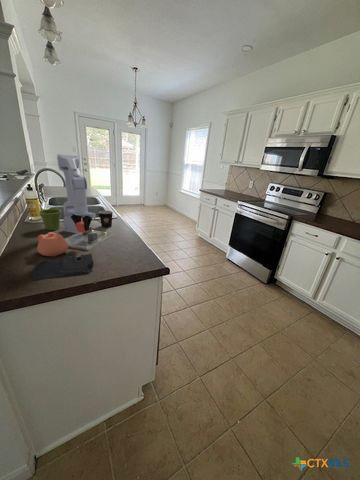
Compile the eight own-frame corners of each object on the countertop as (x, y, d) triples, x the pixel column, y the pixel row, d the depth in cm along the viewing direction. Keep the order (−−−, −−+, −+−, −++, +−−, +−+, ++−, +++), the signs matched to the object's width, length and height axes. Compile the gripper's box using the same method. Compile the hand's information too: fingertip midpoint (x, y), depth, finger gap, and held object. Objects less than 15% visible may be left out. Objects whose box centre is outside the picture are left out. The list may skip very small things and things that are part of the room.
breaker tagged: (88, 239, 109) (87, 233, 108) (92, 237, 113) (92, 231, 112) (93, 240, 109) (92, 234, 107) (97, 238, 112) (97, 232, 111)
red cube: (77, 231, 101) (76, 223, 99) (82, 229, 104) (81, 221, 103) (84, 232, 100) (83, 224, 98) (89, 230, 104) (88, 222, 102)
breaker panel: (57, 244, 104) (56, 241, 103) (87, 231, 126) (87, 228, 125) (87, 250, 101) (87, 246, 100) (113, 235, 123) (113, 232, 122)
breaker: (82, 233, 118) (82, 227, 116) (87, 231, 121) (86, 225, 120) (87, 234, 117) (86, 228, 116) (91, 232, 121) (91, 226, 119)
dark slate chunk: (37, 264, 86) (35, 254, 84) (93, 258, 95) (92, 249, 93) (29, 283, 73) (26, 271, 71) (94, 274, 82) (93, 264, 80)
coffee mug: (115, 225, 142) (114, 211, 138) (110, 228, 134) (109, 214, 130) (99, 223, 143) (98, 209, 139) (93, 227, 135) (92, 212, 131)
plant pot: (36, 229, 122) (33, 211, 118) (53, 225, 132) (50, 208, 128) (52, 233, 119) (49, 214, 115) (67, 227, 130) (65, 210, 126)
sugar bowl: (55, 260, 89) (52, 239, 86) (28, 255, 91) (24, 234, 88) (74, 249, 100) (72, 230, 97) (49, 245, 103) (46, 226, 99)
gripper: (61, 202, 95) (65, 229, 100) (88, 206, 92) (90, 234, 97) (72, 200, 101) (75, 226, 106) (97, 203, 98) (99, 230, 103)
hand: (83, 229), depth 102 cm, fingers closed on red cube, 4 cm apart
